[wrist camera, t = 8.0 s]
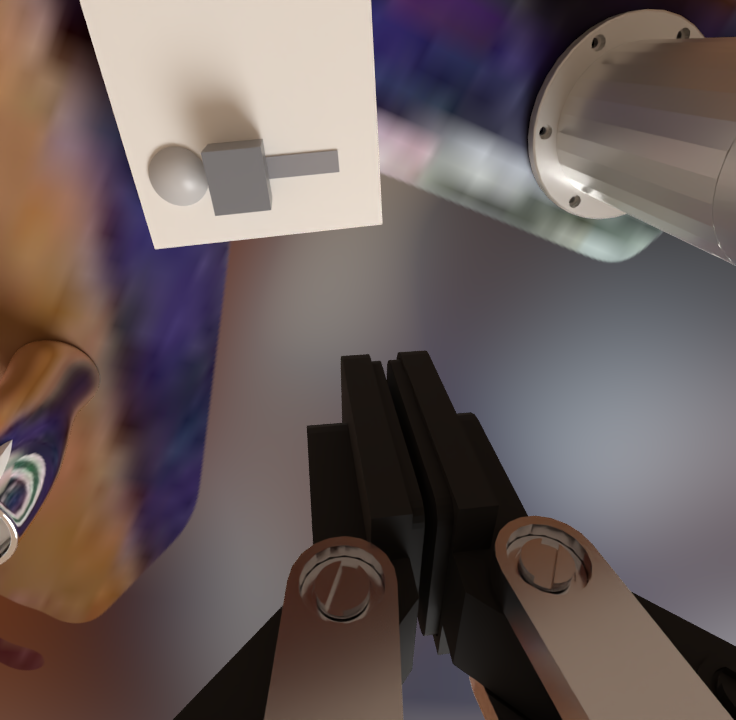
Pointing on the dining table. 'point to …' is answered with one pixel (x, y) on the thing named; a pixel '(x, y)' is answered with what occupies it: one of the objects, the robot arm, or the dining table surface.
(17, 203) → the dining table surface
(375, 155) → the switch panel
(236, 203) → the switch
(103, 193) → the dining table surface
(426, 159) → the dining table surface
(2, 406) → the beer glass
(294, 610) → the robot arm
